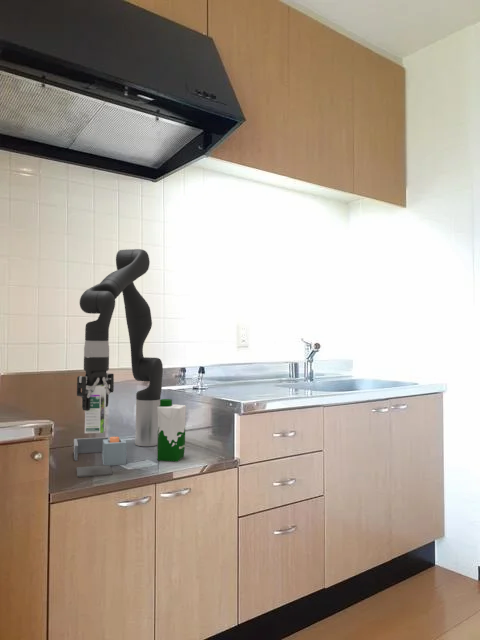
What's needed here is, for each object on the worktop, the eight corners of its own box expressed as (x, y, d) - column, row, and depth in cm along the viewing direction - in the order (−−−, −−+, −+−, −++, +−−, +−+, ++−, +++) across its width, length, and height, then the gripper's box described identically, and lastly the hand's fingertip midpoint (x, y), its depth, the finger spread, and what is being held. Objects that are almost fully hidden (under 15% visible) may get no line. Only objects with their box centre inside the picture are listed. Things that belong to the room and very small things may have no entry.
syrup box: (84, 433, 157) (84, 385, 158) (87, 430, 163) (87, 383, 163) (103, 433, 158) (104, 385, 158) (105, 429, 164) (106, 383, 164)
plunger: (118, 454, 174) (118, 436, 174) (119, 456, 171) (119, 438, 171) (109, 454, 173) (109, 436, 173) (109, 457, 170) (110, 438, 170)
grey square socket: (123, 459, 176) (124, 438, 177) (126, 464, 170) (126, 442, 170) (102, 460, 174) (102, 439, 174) (104, 465, 167) (104, 443, 168)
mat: (109, 466, 167) (109, 465, 167) (112, 474, 157) (112, 473, 157) (76, 468, 163) (76, 467, 163) (77, 477, 154) (77, 475, 154)
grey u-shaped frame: (109, 450, 188) (110, 437, 188) (113, 458, 177) (113, 443, 178) (73, 453, 184) (73, 438, 184) (74, 460, 173) (74, 445, 173)
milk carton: (162, 455, 183) (163, 397, 184) (187, 456, 182) (188, 399, 182) (153, 461, 175) (154, 401, 175) (179, 462, 173) (180, 402, 173)
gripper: (102, 354, 169) (101, 405, 169) (70, 355, 156) (69, 410, 156) (121, 355, 166) (120, 406, 166) (89, 356, 153) (88, 412, 153)
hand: (95, 408), depth 161 cm, fingers closed on syrup box, 7 cm apart
